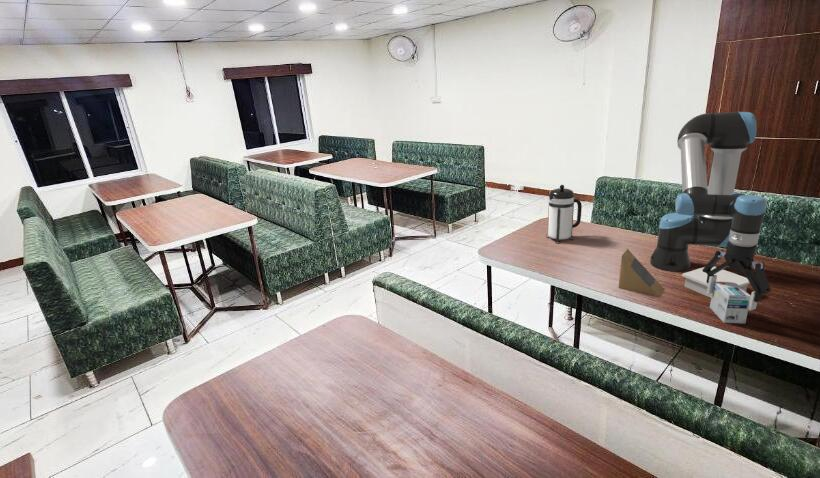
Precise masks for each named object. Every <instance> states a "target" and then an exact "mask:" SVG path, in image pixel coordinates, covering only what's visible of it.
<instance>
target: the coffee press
mask: <svg viewBox="0 0 820 478" xmlns="http://www.w3.org/2000/svg"><path fill="white" fill-rule="evenodd" d="M575 196H576V194H575V193H574V191H573V190H572V189H569V188H565V185H564V184H560V185H559V188H555V189H552V190H550V192H549V194H548V200H547V202H548V213H547V215H548V217H547V234H545V236H547V235H548V236H549V238H551V239H555V243H556V242H559V243H560V240H567V239H570V240H571V239H575V237H574V235H573V229H575V228H577V227H578V226H579V225H580V223H581V220H582V208H583V206H582V202H581V200H579V199H577V198H575ZM575 203H576V205H577V211H576V212H577V214H576V221H575V222H574V212H575V211H574V208H575ZM573 222H574V223H573Z"/></svg>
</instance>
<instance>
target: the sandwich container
mask: <svg viewBox="0 0 820 478" xmlns="http://www.w3.org/2000/svg"><path fill="white" fill-rule="evenodd" d="M619 268H620V270H619V280H618V289H621V290H626V291H629V292H635V293H639V294H644V295H650V296H654V297H662V296H663V294H664V290H665V288H664V286H662V285H661V283H660V282H658V280H657V279H656V278H655V277H654V276H653V275H652V274H651V273H650V271H648V269H647V268H646V267H645V266H644V265H643V264H642V263H641V262H640V261H639V259H637V258H636V257H635V255H634V254H633V253H632V252H631V251H630V250H629V249H628V248H626V249H625V250H624V251H623V253H622V254H621V259H620V267H619Z"/></svg>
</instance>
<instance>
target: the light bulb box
mask: <svg viewBox="0 0 820 478" xmlns="http://www.w3.org/2000/svg"><path fill="white" fill-rule="evenodd" d="M750 298H751V294H750V293H748V292H747V290H746V291H745V290H743V289H742V288H741V287H740V286H739V285H737V284H736V283H735V282H714V288H713V293H712V298H710V305H709V308H710V310H712V312H714V314H715V315H716V316H717V317H718V318H719V319H720V321H722V323H724V324H746V322H747V316H748V312H749V310H748V306H749V302H750Z"/></svg>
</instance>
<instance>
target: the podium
mask: <svg viewBox="0 0 820 478" xmlns="http://www.w3.org/2000/svg"><path fill="white" fill-rule="evenodd" d="M704 267H705V266H704ZM704 267H700V268H696V269H693V270H691V271H687V272H684V273H682V274H681V277H683V278H685V281H684V288H686V289H690V290H692V291H694V292H697V293H698V294H701V295H704V296H706V297H708V298H710V299H711V298H712V293H710V294H708V293H707V288H708V283H707V282H706V281H707V276H708V275H707V273H705V272H703V271H702V270H703V268H704ZM716 267H717V266H716V265H715V266H714V267H713V268H712V269H711V270H713V269H715V268H716ZM714 275H717V279H716V282H735V283H736V284H737V285H739V286H740V287H741V288H742V289H743V290H745V291H746V292H747V288H748V285H751V284H750V283H749V281H748V279H747V277H746V276H742V275H739V274H737V273H734V272H731V271H729V270H728V271H727V270H725V269H723V270H721V271H719V272H717V273H716V274H714Z"/></svg>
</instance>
